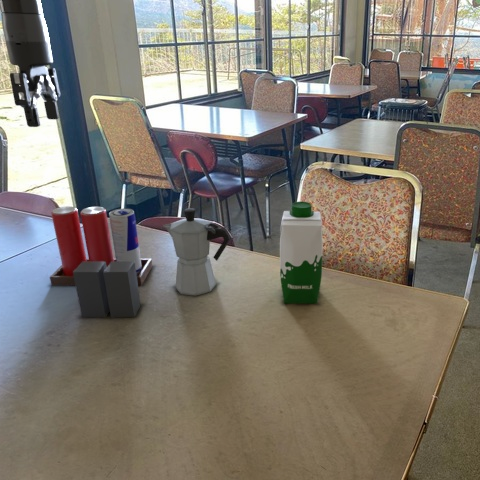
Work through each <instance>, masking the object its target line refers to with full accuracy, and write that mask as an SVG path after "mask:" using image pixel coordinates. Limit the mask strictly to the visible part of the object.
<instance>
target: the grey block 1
mask: <svg viewBox="0 0 480 480" xmlns="http://www.w3.org/2000/svg"><path fill="white" fill-rule="evenodd" d="M106 268H107V265H106V261H82V262H81V264H80V265H79V266H78V267H77V268H76V269H75V270H74V271H73V275H74V280H75V285H76V286H75V290H76V295H77V299H78V304H79V305H78V306H79V309H80V314H81V318H106V317H107V316H108V314H110V309H109V303H108V297H107V292H106V286H105V280H104V274H103V272H104V270H105V269H106Z"/></svg>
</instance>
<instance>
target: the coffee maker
mask: <svg viewBox="0 0 480 480" xmlns="http://www.w3.org/2000/svg"><path fill="white" fill-rule="evenodd" d="M183 212H184V215H185V218H182V219H180V220H177V221H174V222H171V223H167V224H166V223H165V224H163V225H162V227H164V228H165V229H166V231H167V232H168V234H169V235H170V237H171V238H172V242H173V248H174V251H175V255H176V257H177V258H178V259H177V263H176V274H175V275H176V277H175V285H174V286H175V287H174V288H175V289H176V290H177V291H178V293H179V294H180V295H186V296H193V297H196V296H200V295H203V294H206V293H211V291H212V290H213V289H214V288H215V287H216V285H217V281H216V278H215V274H214V270H213V265H212V263H211V258H210V256H209V255H210V247H211V241H212V240H215V239H219V238H222V239H223V241H222V243H221V245H219V247H218V249H217V251H216V253H215V254H214V256H213V259H214V260H215V261H218V260H219V259H220V257H221V256H222V254H223V252H224V251H225V249H226V247H227V246H228V244H229V243H230V241H231V239H232V238H231V235H230V233H229V232H228V230H227V229H226V228H224V227H220V225H218V224H217V223H216V222H211V221H210V220H207V219H203V218H200V217H196V218H195V214H196V208H193V207H188V208H185V209H184V210H183Z"/></svg>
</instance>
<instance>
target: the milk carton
mask: <svg viewBox="0 0 480 480" xmlns="http://www.w3.org/2000/svg"><path fill="white" fill-rule="evenodd" d="M312 207H313V205H312V203H311V202H308V201H295V202H293V203H292V204H291V210H284V211H283V213H282V218H281V223H280V228H279V233H280V236H279V237H280V238H279V277H280V284H281V290H282V299H283V304H307V305H309V304H311V305H315V304H316V305H317V304H318V300H319V296H320V295H319V294H320V289H321V282H322V278H323V277H322V275H323V254H324V253H323V251H324V250H323V249H324V248H323V247H324V246H323V245H324V239H323V238H324V236H323V234H324V228H323V226H322V225H323V221H322V215H321V212H320V211H314V210H312Z"/></svg>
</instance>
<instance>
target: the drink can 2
mask: <svg viewBox="0 0 480 480" xmlns="http://www.w3.org/2000/svg"><path fill="white" fill-rule="evenodd" d="M80 219H81V224H82V231H83V235H84V241H85V247H86V252H87V258H88V259H89V261H106V265H107V266H108V265H109V264H110V262H111V261H114V259H115V258H114V252H113V246H112V239H111V235H110V234H111V233H110V227H109V221H108V215H107V210H106V208H105V207H103V206H90V207H86V208H85V207H84V208H83V209H82V210H81V211H80Z"/></svg>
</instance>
